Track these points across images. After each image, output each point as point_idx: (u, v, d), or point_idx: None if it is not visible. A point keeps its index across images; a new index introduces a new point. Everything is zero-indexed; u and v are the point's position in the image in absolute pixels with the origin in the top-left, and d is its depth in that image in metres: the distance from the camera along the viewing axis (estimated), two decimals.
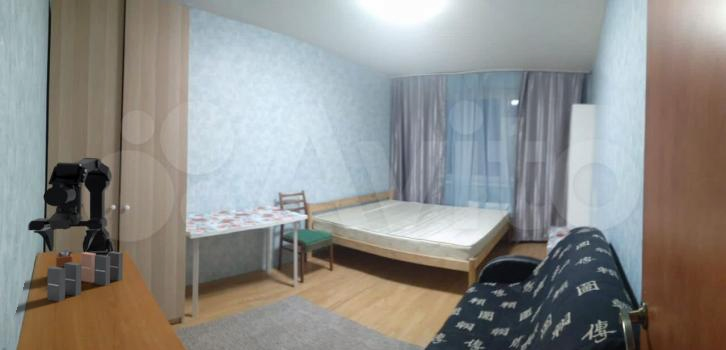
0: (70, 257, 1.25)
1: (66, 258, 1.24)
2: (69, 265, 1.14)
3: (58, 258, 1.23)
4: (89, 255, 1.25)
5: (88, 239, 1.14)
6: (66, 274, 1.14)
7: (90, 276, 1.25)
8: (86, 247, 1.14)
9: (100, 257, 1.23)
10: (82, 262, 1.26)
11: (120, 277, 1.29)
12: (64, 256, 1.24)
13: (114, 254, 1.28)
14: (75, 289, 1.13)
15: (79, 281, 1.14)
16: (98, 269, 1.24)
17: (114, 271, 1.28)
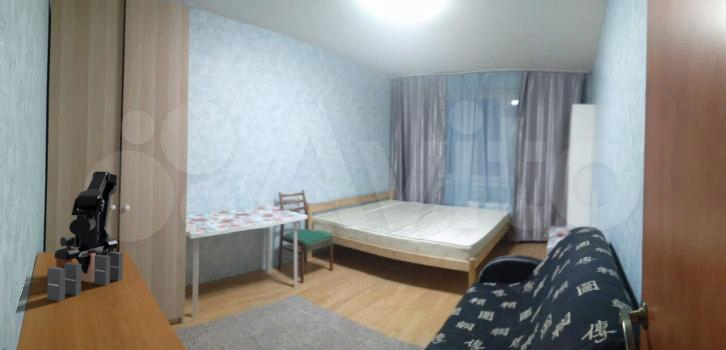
0: None
1: None
2: (69, 265, 1.14)
3: None
4: None
5: None
6: (66, 274, 1.14)
7: (90, 276, 1.25)
8: None
9: (100, 257, 1.23)
10: None
11: (120, 277, 1.29)
12: None
13: (114, 254, 1.28)
14: (75, 289, 1.13)
15: (79, 281, 1.14)
16: (98, 269, 1.24)
17: (114, 271, 1.28)
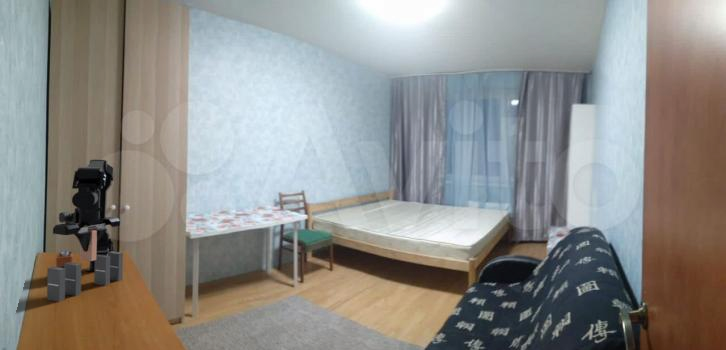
0: (70, 257, 1.25)
1: (66, 258, 1.24)
2: (69, 265, 1.14)
3: (58, 258, 1.23)
4: None
5: None
6: (66, 274, 1.14)
7: (91, 254, 1.18)
8: None
9: (100, 257, 1.23)
10: None
11: (120, 277, 1.29)
12: (64, 256, 1.24)
13: (114, 254, 1.28)
14: (75, 289, 1.13)
15: (79, 281, 1.14)
16: (98, 269, 1.24)
17: (114, 271, 1.28)
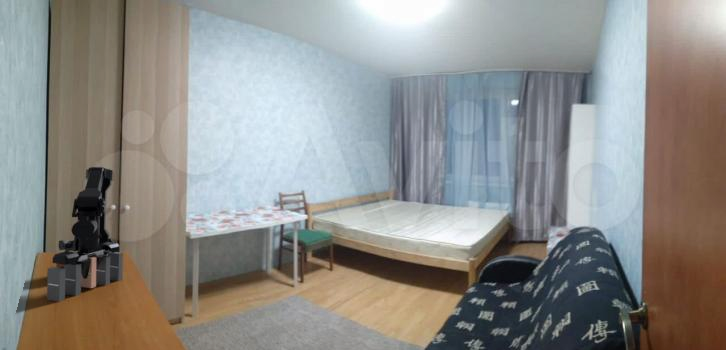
0: None
1: None
2: (69, 265, 1.14)
3: None
4: None
5: None
6: (66, 274, 1.14)
7: (90, 281, 1.18)
8: None
9: None
10: None
11: (120, 277, 1.29)
12: None
13: (114, 254, 1.28)
14: (75, 289, 1.13)
15: (79, 281, 1.14)
16: (98, 269, 1.24)
17: (114, 271, 1.28)
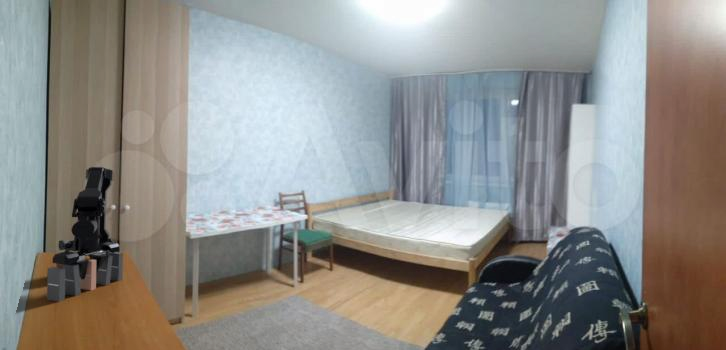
0: None
1: None
2: (66, 266, 1.13)
3: None
4: (89, 261, 1.18)
5: None
6: None
7: (90, 284, 1.18)
8: None
9: None
10: None
11: (120, 277, 1.29)
12: None
13: (114, 254, 1.28)
14: (75, 289, 1.13)
15: (78, 281, 1.14)
16: (100, 269, 1.24)
17: (114, 271, 1.28)
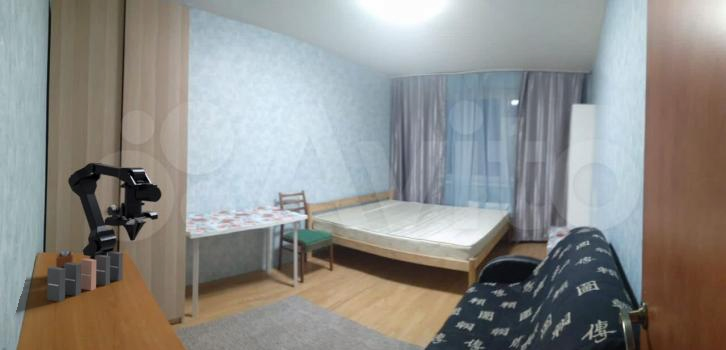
0: (70, 257, 1.25)
1: (66, 258, 1.24)
2: (69, 265, 1.14)
3: (58, 258, 1.23)
4: (89, 261, 1.18)
5: None
6: (66, 274, 1.14)
7: (90, 284, 1.18)
8: None
9: (100, 257, 1.23)
10: (82, 269, 1.19)
11: (120, 277, 1.29)
12: (64, 256, 1.24)
13: (114, 254, 1.28)
14: (75, 289, 1.13)
15: (79, 281, 1.14)
16: (98, 269, 1.24)
17: (114, 271, 1.28)
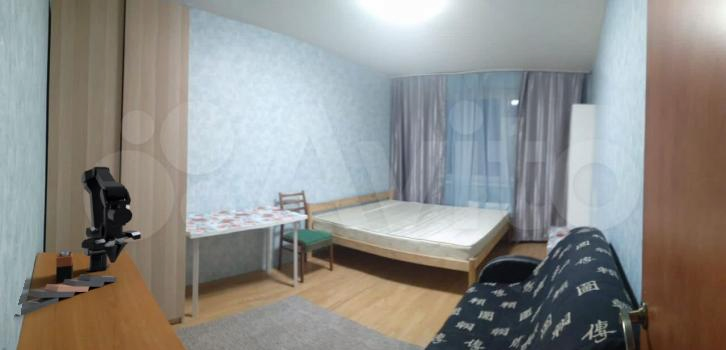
0: (70, 257, 1.25)
1: (66, 258, 1.24)
2: (34, 296, 1.04)
3: (58, 258, 1.23)
4: None
5: None
6: None
7: None
8: None
9: None
10: None
11: (113, 279, 1.26)
12: (64, 256, 1.24)
13: (86, 280, 1.19)
14: None
15: (60, 293, 1.09)
16: None
17: None
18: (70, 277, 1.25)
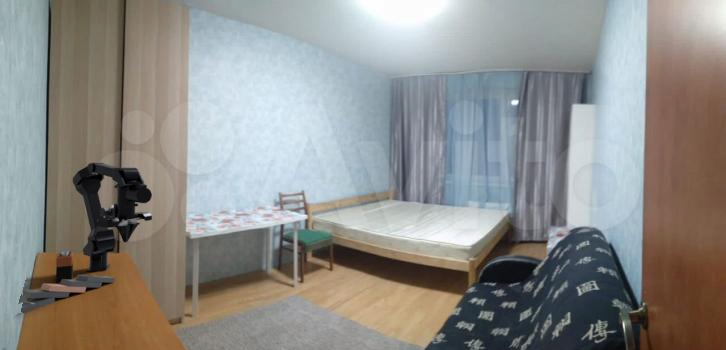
0: (70, 257, 1.25)
1: (66, 258, 1.24)
2: (26, 296, 1.04)
3: (58, 258, 1.23)
4: (48, 290, 1.08)
5: None
6: None
7: (76, 291, 1.14)
8: None
9: None
10: None
11: (111, 280, 1.25)
12: (64, 256, 1.24)
13: (83, 280, 1.18)
14: None
15: (53, 294, 1.08)
16: None
17: None
18: (70, 277, 1.25)
